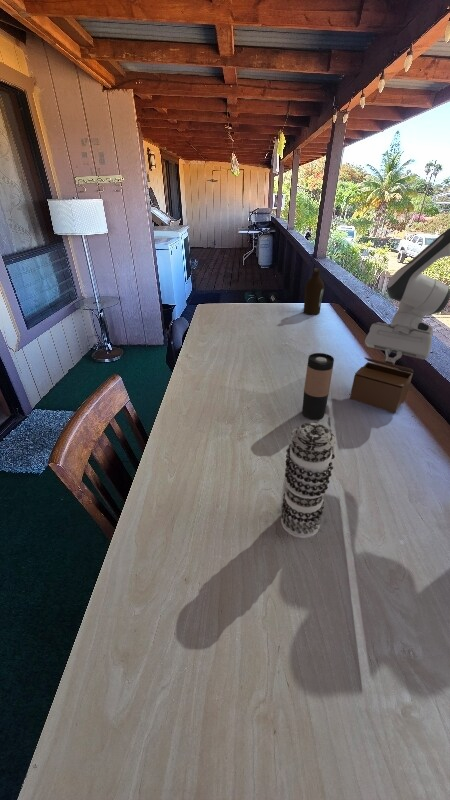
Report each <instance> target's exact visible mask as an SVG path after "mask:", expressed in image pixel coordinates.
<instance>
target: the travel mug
mask: <svg viewBox="0 0 450 800" xmlns="http://www.w3.org/2000/svg"><path fill="white" fill-rule="evenodd" d="M334 364H335V357H333V356H332V355H331V354H328V353H323V352H315V353H310V355H309V356H308V360H307V365H306V373H305V380H304V386H303V387H304V388H303V397H302V409H301V413H302V415H303V417H305V418H306V419H309V420H312V421H317V420H318V421H319V420H321V419H324V417H325V414H326V409H327V404H328V399H329V395H330V389H331V383H332V376H333V368H334Z"/></svg>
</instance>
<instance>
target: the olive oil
mask: <svg viewBox="0 0 450 800" xmlns="http://www.w3.org/2000/svg"><path fill="white" fill-rule="evenodd" d="M320 270H321V269H320V268H319V267H318V268H317V267H316V268H313V272H312V276H311V277H310V278H309V279H308V280H307V281H306V283H305V285H304V300H303V301H304V302H303V314H305V315H309V316H317V315H320V313H321V307H322V300H323V296H324V291H325V283H324V280H323V279H322V278H321V276H320V274H321V273H320Z"/></svg>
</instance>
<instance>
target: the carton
mask: <svg viewBox="0 0 450 800" xmlns="http://www.w3.org/2000/svg"><path fill="white" fill-rule="evenodd" d="M413 375H414V372H410V371H406V370H402V369H398V368H394V367H390V366H386V365H382V364H378V363H374V362H370V361H367V362H366V363H365V364H364V365H363V366H361V367H360V368H359V369H358V370H357V371H356V372H355V373H354V376H353V381H352V385H351V391H350V396H349V400H352V401H356V402H358V403H362V404H365V405H368V406H370V407H371V406H372V407H373V408H374V407H375V408H377V409H380V410H384V411H388V412H391V413H393V414H396V413H397V411H398V410H399V409H400V407H401V405H403V404H404V403H405V401H406V399H407V395H408V392H409V388H410V385H411V382H412V378H413Z"/></svg>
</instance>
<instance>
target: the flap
mask: <svg viewBox="0 0 450 800" xmlns="http://www.w3.org/2000/svg"><path fill="white" fill-rule="evenodd" d="M364 359H365V360H366V361H367V362H370V363H374V364H378V365H382V366H386V367H390V368H394V369H397V370H401V371H405V372H409V373H414V370H413V368H410V367H406V366H401V365H397V364H390V363H386V362H385V361H381V360H377V359H373V358H369V357H364Z"/></svg>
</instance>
